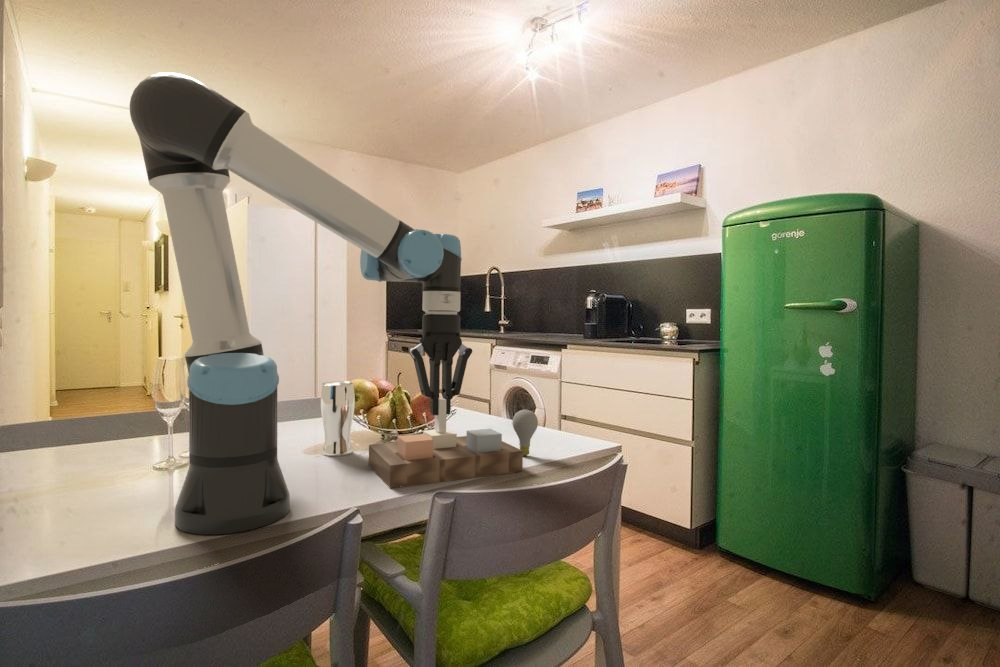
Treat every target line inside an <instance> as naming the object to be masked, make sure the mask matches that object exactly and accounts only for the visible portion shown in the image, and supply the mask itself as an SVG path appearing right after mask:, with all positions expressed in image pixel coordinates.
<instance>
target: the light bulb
mask: <svg viewBox="0 0 1000 667" xmlns="http://www.w3.org/2000/svg"><path fill="white" fill-rule="evenodd" d="M538 422H539V420H538V416H537V415H536V413H535V412H533V411H532V410H529V409H521V410H519V411H517V412H515V414H514V416H512V422H511V423H512V424H511V425H512V427H513V430H514V432H515V434H516V436H517V437H518V439H519V440H518V441H519V449H520V450H522V451H523V457H526V456H528V455H529V454H530V446H531V439H532V437H533V436H534V434H535V432H536V431H537V428H538V424H539V423H538Z"/></svg>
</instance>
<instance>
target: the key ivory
mask: <svg viewBox="0 0 1000 667" xmlns="http://www.w3.org/2000/svg"><path fill="white" fill-rule="evenodd" d="M422 431H423V433H422V434H425V435H427V436H428V437H430V438H431V439H433V449H438V448H448V447H456V444H457V437H458V436H457V435H458V433H457V432H454V431H452V430H451V429H448V428H446V432H441V433H439V432H437V431H435V430H434V429H427V430H422Z"/></svg>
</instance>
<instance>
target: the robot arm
mask: <svg viewBox="0 0 1000 667" xmlns="http://www.w3.org/2000/svg"><path fill="white" fill-rule="evenodd" d="M129 115H130V116H129V117H130V120H131V122H132V125H133V127H134V129H135V132H136V133H137V135H138V139H139V142H140V146H141V152H142V156H143V161H144V166H145V170H146V176H147V180H148V184H149V186H150V187H152V188H153V189H155V190H156V191H157V192H159V193H160V194H161V195H162V198H163V203H164V207H165V213H166V217H167V218H166V219H167V222H168V223H167V224H168V227H169V231H170V237H171V242H172V243H171V244H172V246H173V251H174V252H173V253H174V256H175V262H176V266H177V272H178V277H179V281H180V287H181V290H182V296H183V300H184V306H185V311H186V315H187V319H188V324H189V329H190V334H191V339H192V343H191V345H190V346H189V348H188V349H186V350H187V351H186V352H185V353H184V358H185V362H186V367H187V373H188V377H187V379H186V380H187V387H188V425H189V426H188V429H189V430H188V434H189V435H188V436H189V437H188V442H189V444H188V450H189V451H188V452H189V456H188V457H189V458H188V461H189V462H188V464H189V465H188V470H187V473H186V476H185V478H184V482H183V485H182V487H181V491H180V493H179V496H178V499H177V501H176V505H175V508H174V525H175V527H176V528H177V529H178V530H180V531H183V532H184V533H189V534H197V535H222V534H223V535H225V534H234V533H235V534H236V533H240V532H245V531H250V530H254V529H258V528H261V527H265V526H267V525H270V524H272V523H274V522H277V521H279V520H280V519H282V518H284V517H285V516H286V515H287V514H288V513H289V511H290V510H291V509H290V507H291V505H290V504H291V502H290V492H289V491H290V490H289V488H288V485H287V483H286V480H285V478H284V473H283V472H282V469H281V466H280V462H279V459H278V386H279V383H280V375H279V373H278V366H277V363H276V361H275V360H274V359H273V358H271V357H269V356H267V355H264V350H263V345H262V341H261V340H260V339H258V338H257V337H255V336H254V335H252V334H251V333H250V328H249V323H248V317H247V312H246V307H245V302H244V297H243V291H242V287H241V286H242V285H241V280H240V275H239V272H238V271H239V270H238V266H237V265H238V264H237V261H236V255H235V250H234V249H235V248H234V246H233V239H232V235H231V230H230V225H229V224H230V223H229V220H228V214H227V209H226V204H225V198H224V194H223V193H224V190H225V189H226V187H228V185H229V184H230V182H231V177H230V172H231V173H232V174H235V175H236V176H238V177H240V178H241V179H243V180H244V181H246V182H248V183H250V184H252V185H253V186H254V187H256V188H258V189H260V190H261V191H263V192H265V193H266V194H269V195H270V196H271V197H273V198H274V199H277V200H278V201H279V202H281V203H283V204H285V205H286V206H288V207H289V208H292V209H293V210H295V211H297V212H298V213H300V214H302V215H303V216H305V217H307V218H308V219H310V220H312V221H313V222H315V223H317V224H319V225H320V226H322V227H323V228H325V229H327V231H328V230H329V231H330V232H332V233H333V234H335V235H337V236H339V237H340V238H341V239H343V240H345V241H347V242H349V243H350V244H352V245H353V246H355V247H357V248H358V249H360V257H359V258H360V259H359V265H360V272H361V275H362V277H363V278H364V279H365V280H368V281H375V282H379V283H381V282H395V283H397V282H399V283H401V282H403V283H404V282H405V283H422V307H421V308H422V311H423V312H425V313H424V314H423V315H422V316H421V317H422V325H421V327H422V328H421V329H422V330H421V332H422V335H421V338H420V340H419V343H418V344H417V345H416V346H415V347H411V348H409V349H408V353H409V355H410V356H411V358H412V360H413V363H414V364H413V365H414V367H415V371H416V376H417V381H418V385H419V389H420V394H421V395H422V396H424V397H427V398H429V400H430V401H429V402H430V406H429V407H430V408H429V409H430V410H429V412H430V414H431V415H432V416H434V429H433V430H435V431H437V432H439V433H441V432H446V429H447V415H450V414H451V411H452V410H451V407H452V406H451V404H452V403H451V400H452V399H453V398H454V397H455V396H459V395H460V393H461V389H462V385H463V381H464V377H465V372H466V368H467V364H468V359H469V358H470V357H471V355H472V354H473V349H472V348H471V347H467V346H466V345H464V343H463V340H462V338H461V316H460V315H459V314H458V313H459V312H460V311H461V278H462V276H461V275H462V273H461V272H462V270H461V268H462V248H461V247H462V246H461V240H460V238H459V237H458V236H456V235H455V234H448V233H433V232H431V231H429V230H425V229H415V228H413V227H411V226H410V225H408V224H407V223H405V222H404V221H402V220H401V219H398V218H397V217H396V216H394V215H392V214H391V213H389V212H388V211H386V210H384V209H383V208H381V207H380V206H378V204H376V203H374V202H373V201H371V200H369V199H368V198H366V197H365V196H363V195H362V194H361V193H359V192H357V191H355V190H354V189H352V188H351V187H350V186H348V185H346V184H345V183H344V182H342V181H341V180H339V179H337V178H336V177H334V176H333V175H331V174H330V173H328V172H327V171H325V170H323V169H322V168H321V167H319V166H317V165H316V164H314V163H313V162H311V161H310V160H308V159H307V158H305V157H304V156H302V155H301V154H300V153H298V152H296V151H294V150H293V149H291V148H290V147H288V146H287V145H285V144H284V143H282V142H280V140H278V139H276V138H274V137H273V136H271V135H270V134H269V133H267V132H265V130H263V129H261V128H259V127H258V126H256V125H254V123H253V122H252V119H251V116H250V113H249V112H248V111H246V109H243V108H241V106H238V105H237V104H236V103H234V102H233V101H231V100H230V99H228V98H226V97H225V96H224V95H222V94H221V93H219V92H218V91H216V90H215V89H213V88H211V87H209V86H208V85H206V84H204V83H203V82H201V81H199V80H197V79H195V78H193V77H191V76H188V75H185V74H182V73H177V72H158V73H156V74H152V75H150V76H147V77H146V78H144V79H143V80H141V82H139V83H138V84H137V86H136V87H135V88H134V89H133V91H132V94H131V96H130V101H129ZM424 352H425V354H426V356H427V357H428V358H429V359H428V362H429V379H428V376H427V370H426V367H425V366H426V365H425V363H424V358H423V356H424ZM457 353H458V355H457V356H458V357H457V359H456V364H455V367H454V368H455V369H454V371H453V364H454V357H455V356H456V354H457ZM440 369H441V370H440ZM440 372H441V374H440ZM440 376H441V382H440ZM440 384H441V385H440ZM440 386H441V397H440Z"/></svg>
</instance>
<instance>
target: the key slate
mask: <svg viewBox="0 0 1000 667" xmlns="http://www.w3.org/2000/svg"><path fill="white" fill-rule="evenodd" d="M466 436H467V440H466V448H468V449H470V450H472V451H473V452H475V453H481V452H490V451H499V450H501V449H502V441H503V438H502V436H503V434H502V433H501V432H498V431H496V430H494V429H492V428H484V429H483V428H482V429H472V430H471V429H470V430H466Z"/></svg>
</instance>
